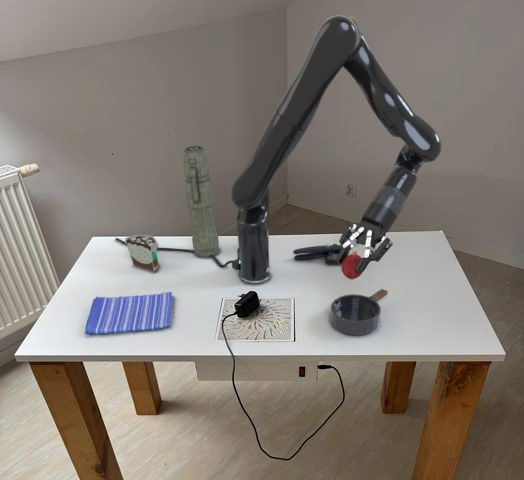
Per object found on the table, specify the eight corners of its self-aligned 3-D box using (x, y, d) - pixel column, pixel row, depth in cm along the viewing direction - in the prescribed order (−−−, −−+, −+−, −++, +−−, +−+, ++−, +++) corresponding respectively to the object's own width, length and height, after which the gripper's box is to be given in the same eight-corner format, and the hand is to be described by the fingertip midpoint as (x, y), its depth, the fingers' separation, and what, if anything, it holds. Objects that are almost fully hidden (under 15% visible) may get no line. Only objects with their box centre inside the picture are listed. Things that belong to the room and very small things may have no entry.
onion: (362, 285, 121) (365, 257, 116) (339, 284, 122) (341, 256, 117) (363, 274, 126) (366, 246, 121) (341, 273, 127) (343, 245, 122)
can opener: (346, 256, 161) (347, 240, 157) (346, 266, 156) (347, 250, 152) (294, 254, 163) (294, 239, 160) (292, 264, 158) (292, 248, 154)
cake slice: (169, 265, 161) (164, 238, 154) (157, 274, 157) (151, 246, 150) (143, 257, 166) (137, 230, 160) (130, 265, 162) (123, 238, 156)
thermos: (193, 261, 162) (177, 155, 140) (195, 245, 172) (181, 143, 149) (219, 259, 163) (207, 153, 140) (220, 243, 172) (209, 141, 150)
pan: (320, 322, 132) (321, 308, 129) (350, 303, 139) (351, 289, 136) (358, 343, 125) (360, 328, 121) (388, 321, 131) (390, 307, 128)
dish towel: (95, 303, 145) (93, 295, 143) (173, 296, 146) (172, 288, 144) (84, 337, 131) (81, 329, 129) (170, 329, 132) (169, 321, 131)
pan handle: (372, 305, 133) (373, 300, 132) (366, 302, 134) (367, 297, 133) (387, 295, 136) (388, 290, 135) (381, 293, 138) (382, 287, 136)
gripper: (356, 193, 120) (320, 251, 122) (402, 209, 111) (363, 272, 113) (368, 207, 126) (334, 263, 128) (413, 224, 117) (376, 283, 119)
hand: (348, 267), depth 120 cm, fingers closed on onion, 5 cm apart
